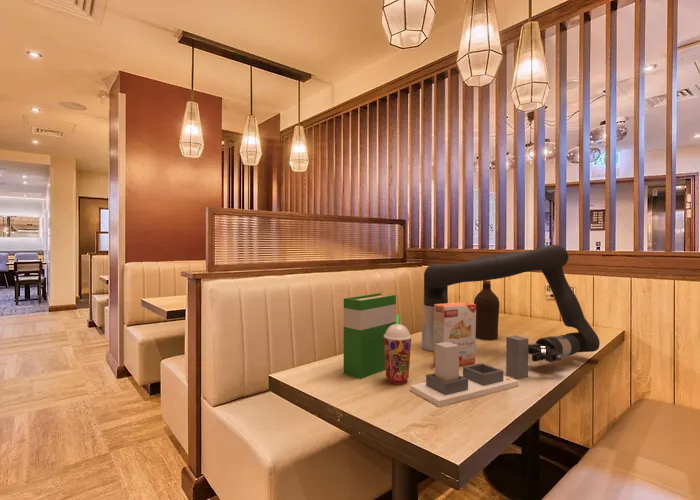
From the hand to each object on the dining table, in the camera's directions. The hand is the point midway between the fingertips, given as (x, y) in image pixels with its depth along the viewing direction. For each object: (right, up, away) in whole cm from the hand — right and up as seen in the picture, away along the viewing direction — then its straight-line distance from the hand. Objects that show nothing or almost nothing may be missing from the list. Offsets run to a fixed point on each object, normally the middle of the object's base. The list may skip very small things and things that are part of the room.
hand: (521, 354), depth 121 cm
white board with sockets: (-21, -7, -11) cm, 25 cm away
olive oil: (+6, -6, +47) cm, 48 cm away
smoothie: (-40, -7, -5) cm, 41 cm away
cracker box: (-18, -6, +11) cm, 22 cm away
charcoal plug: (-2, -6, -1) cm, 7 cm away
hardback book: (-47, -7, +5) cm, 48 cm away
